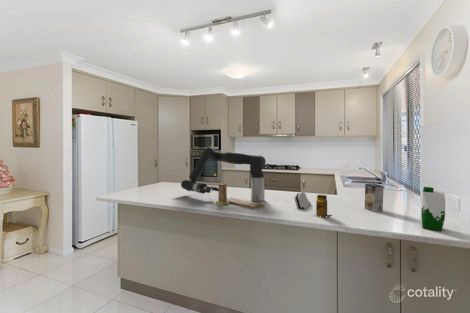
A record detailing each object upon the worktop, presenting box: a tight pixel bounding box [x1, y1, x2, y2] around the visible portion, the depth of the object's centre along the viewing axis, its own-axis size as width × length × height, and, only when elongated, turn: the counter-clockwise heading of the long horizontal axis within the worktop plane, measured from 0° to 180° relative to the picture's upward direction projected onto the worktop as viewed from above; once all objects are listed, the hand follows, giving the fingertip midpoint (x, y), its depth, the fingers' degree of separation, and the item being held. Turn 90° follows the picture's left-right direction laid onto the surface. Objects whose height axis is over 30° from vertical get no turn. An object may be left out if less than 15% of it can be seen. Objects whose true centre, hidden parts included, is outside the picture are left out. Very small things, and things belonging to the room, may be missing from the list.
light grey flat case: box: [293, 191, 312, 210], centre depth 169 cm, size 17×5×10 cm, turn 150°
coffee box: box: [364, 183, 385, 213], centre depth 157 cm, size 9×6×16 cm
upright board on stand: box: [215, 183, 230, 207], centre depth 173 cm, size 6×7×14 cm
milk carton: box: [421, 186, 446, 233], centre depth 123 cm, size 9×9×20 cm
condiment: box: [315, 194, 328, 218], centre depth 146 cm, size 7×8×12 cm
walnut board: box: [227, 197, 264, 210], centre depth 174 cm, size 10×30×2 cm, turn 46°
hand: (214, 190), depth 179 cm, fingers open, 8 cm apart
